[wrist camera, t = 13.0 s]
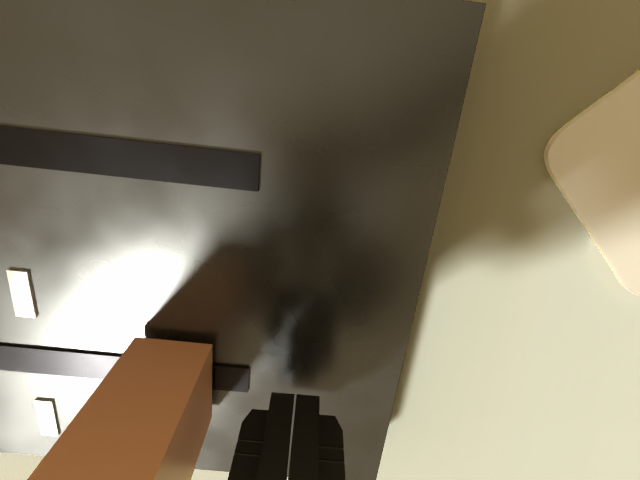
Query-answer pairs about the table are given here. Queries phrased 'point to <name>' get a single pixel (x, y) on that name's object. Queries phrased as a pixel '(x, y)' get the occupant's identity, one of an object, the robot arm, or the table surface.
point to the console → (222, 200)
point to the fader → (139, 418)
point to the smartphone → (604, 176)
